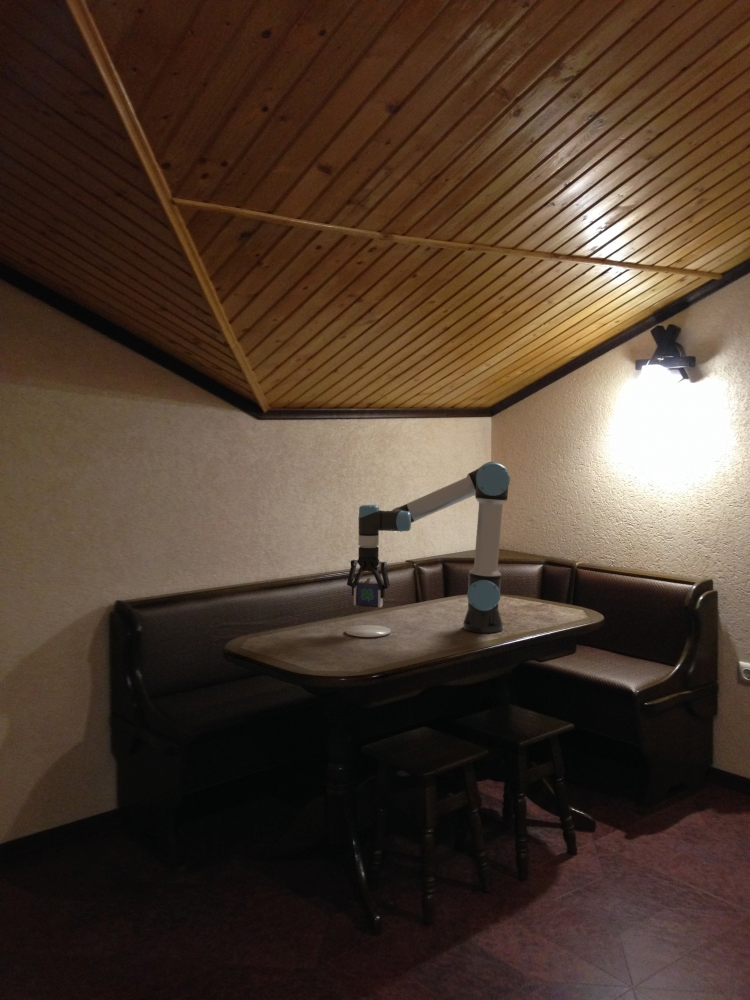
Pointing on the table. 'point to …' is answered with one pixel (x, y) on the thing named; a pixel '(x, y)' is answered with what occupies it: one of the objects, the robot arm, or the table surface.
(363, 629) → the plate
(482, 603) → the robot arm
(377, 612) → the table surface
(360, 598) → the blue hip flask
